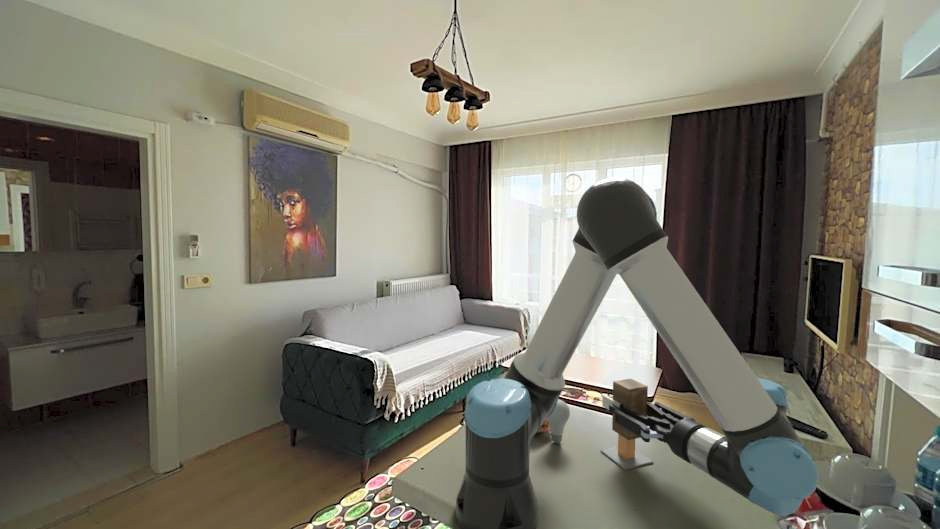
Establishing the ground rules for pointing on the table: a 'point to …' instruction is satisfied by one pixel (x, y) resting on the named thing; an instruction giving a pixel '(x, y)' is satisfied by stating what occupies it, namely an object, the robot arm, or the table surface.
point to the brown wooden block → (629, 402)
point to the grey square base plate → (626, 454)
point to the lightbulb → (558, 420)
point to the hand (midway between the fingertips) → (613, 399)
